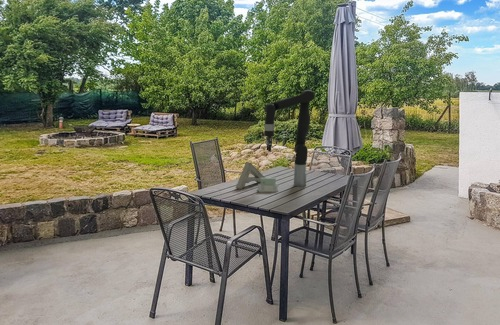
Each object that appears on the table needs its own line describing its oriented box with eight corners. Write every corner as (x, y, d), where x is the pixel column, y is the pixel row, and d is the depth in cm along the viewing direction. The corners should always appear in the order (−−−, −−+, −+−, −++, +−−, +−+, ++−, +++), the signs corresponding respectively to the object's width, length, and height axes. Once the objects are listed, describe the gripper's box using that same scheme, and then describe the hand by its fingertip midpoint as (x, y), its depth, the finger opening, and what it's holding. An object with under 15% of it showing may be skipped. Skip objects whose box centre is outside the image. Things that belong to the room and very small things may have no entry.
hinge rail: (276, 189, 289) (276, 182, 288) (278, 191, 281) (278, 185, 280) (258, 189, 287) (258, 182, 287) (259, 191, 280) (259, 185, 279)
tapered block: (274, 188, 286) (275, 177, 284) (275, 189, 283) (275, 178, 281) (260, 188, 285) (260, 177, 283) (261, 189, 281) (261, 178, 280)
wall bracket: (258, 203, 307) (240, 188, 285) (253, 203, 310) (235, 187, 287) (267, 179, 315) (250, 162, 292) (263, 179, 317) (246, 162, 295)
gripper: (275, 130, 284) (275, 152, 287) (272, 129, 298) (272, 149, 301) (265, 130, 284) (265, 152, 286) (263, 129, 298) (262, 149, 300)
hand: (268, 150), depth 294 cm, fingers open, 8 cm apart
